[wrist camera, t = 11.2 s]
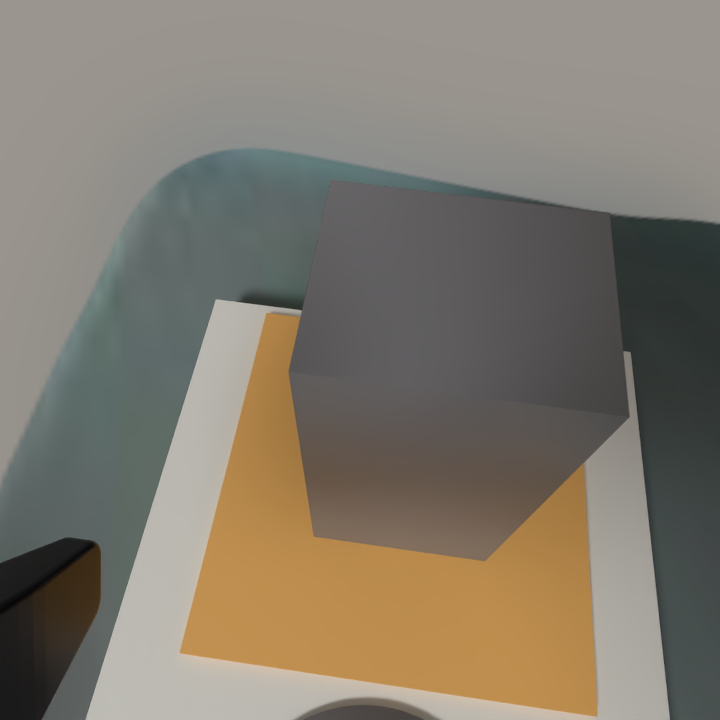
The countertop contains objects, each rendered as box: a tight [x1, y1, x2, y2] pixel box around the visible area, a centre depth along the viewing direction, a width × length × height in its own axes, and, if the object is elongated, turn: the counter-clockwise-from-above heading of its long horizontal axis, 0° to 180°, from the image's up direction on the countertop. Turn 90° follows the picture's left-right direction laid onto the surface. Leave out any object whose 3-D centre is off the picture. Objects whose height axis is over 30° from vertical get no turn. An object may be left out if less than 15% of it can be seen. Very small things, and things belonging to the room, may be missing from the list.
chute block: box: [288, 180, 630, 561], centre depth 14 cm, size 4×5×10 cm
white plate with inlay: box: [86, 299, 670, 720], centre depth 17 cm, size 20×15×2 cm
